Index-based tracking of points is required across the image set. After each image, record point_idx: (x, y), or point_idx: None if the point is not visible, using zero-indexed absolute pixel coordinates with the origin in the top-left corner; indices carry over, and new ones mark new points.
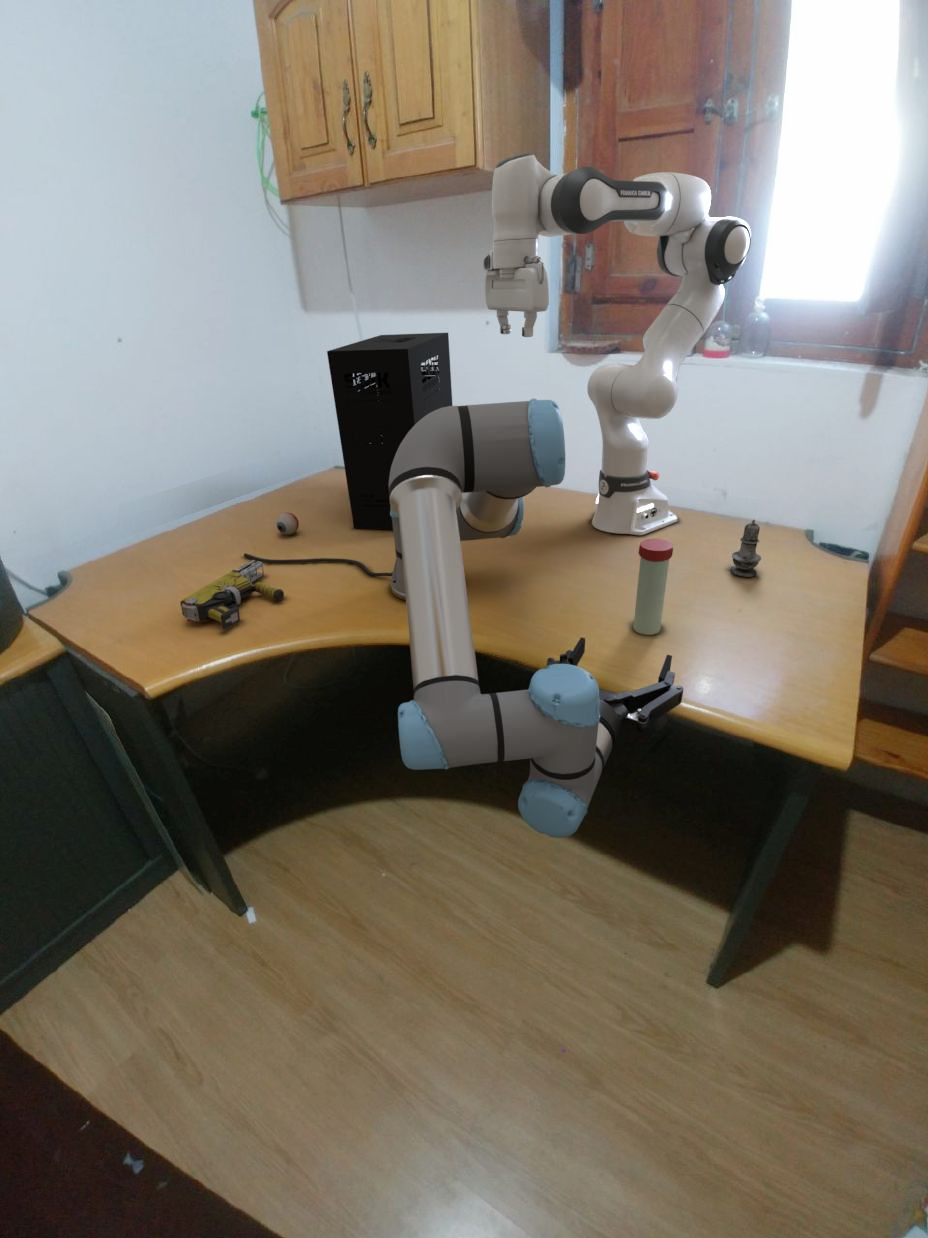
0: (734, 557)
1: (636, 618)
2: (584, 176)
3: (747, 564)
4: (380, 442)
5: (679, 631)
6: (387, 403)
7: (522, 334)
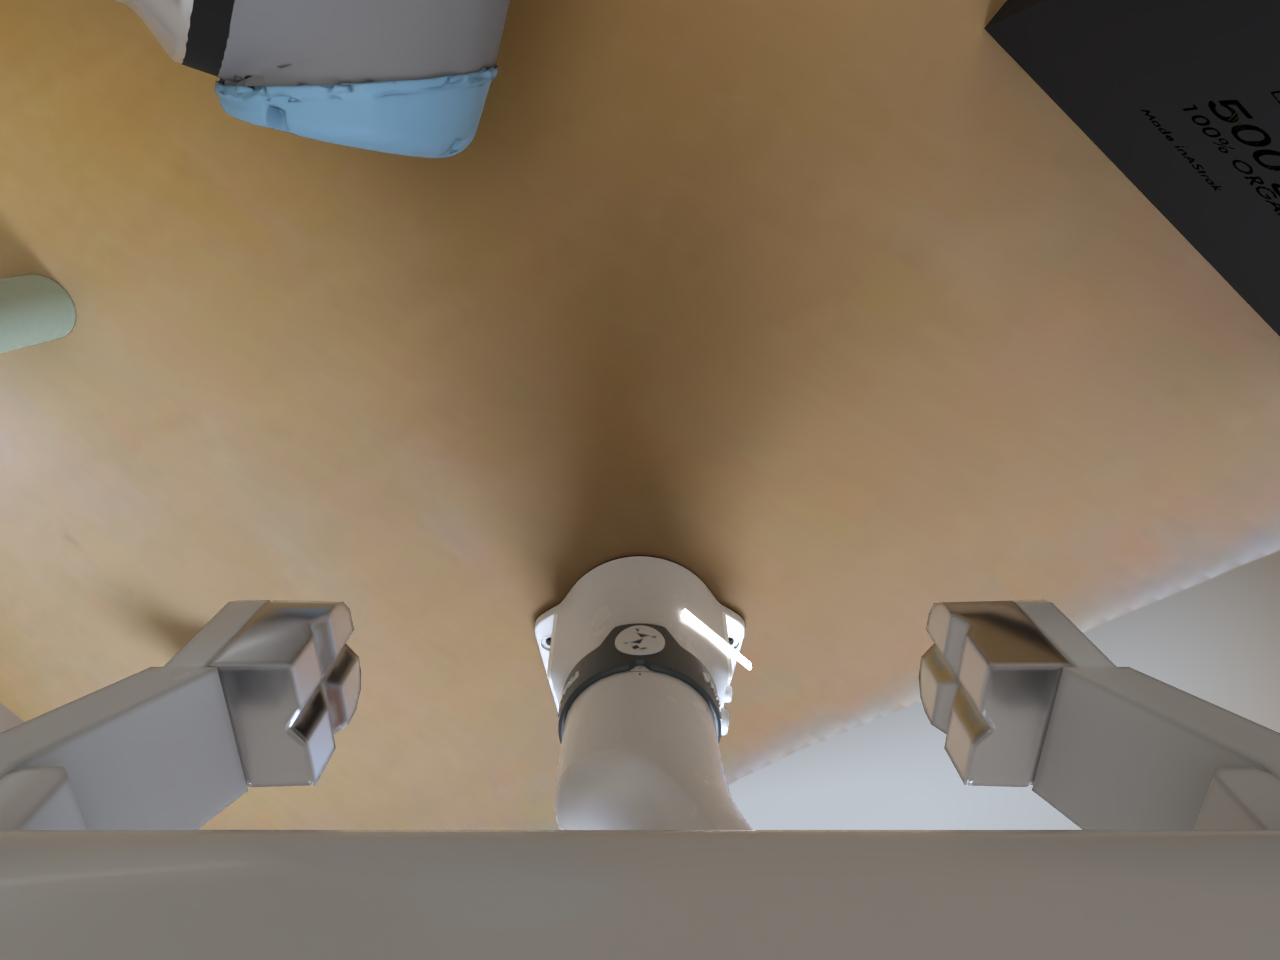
0: None
1: (9, 278)
2: None
3: None
4: None
5: (11, 365)
6: None
7: (315, 604)
